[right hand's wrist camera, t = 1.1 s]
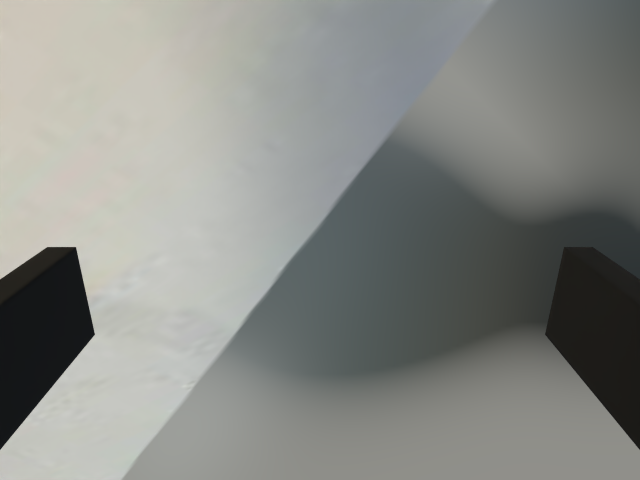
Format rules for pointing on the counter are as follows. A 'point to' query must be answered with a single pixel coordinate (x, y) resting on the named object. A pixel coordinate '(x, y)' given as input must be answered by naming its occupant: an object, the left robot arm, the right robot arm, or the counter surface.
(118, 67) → the counter surface
